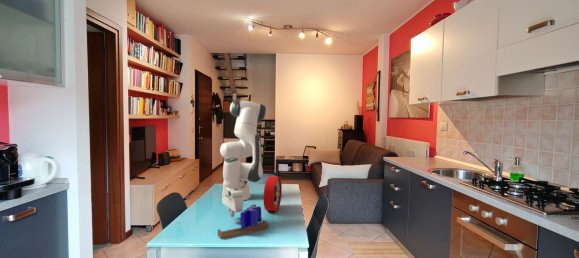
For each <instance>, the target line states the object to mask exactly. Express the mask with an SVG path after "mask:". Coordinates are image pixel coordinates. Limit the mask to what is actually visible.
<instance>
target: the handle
mask: <svg viewBox="0 0 579 258" xmlns="http://www.w3.org/2000/svg"><path fill="white" fill-rule="evenodd" d="M268 229H269V222H268V221H266V220H263V219H262V222H259V223H257V226H247V227H246V228H245V229H241V227H237V228H232V229H227V230H221V229H220V228H219V229H217V237H218V238H219V239H220V240H222V239H227V238H231V237H236V236H241V235H246V234H250V233H255V232H258V231H263V230H268Z"/></svg>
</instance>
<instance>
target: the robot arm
mask: <svg viewBox="0 0 579 258" xmlns="http://www.w3.org/2000/svg"><path fill="white" fill-rule="evenodd" d="M229 111H230V112H229V113H230V114H231V116H233V117H235V118H236V120H235V125H234V128H233V129H234V130H233V133H234V136H235V137H237V138H238V139H239V140H238V141H226V142H224V143H222V144H221V145H220V148H219V152H220V155H221V156H222V158H223V159H225V160H224V161H223V167H222V177H223V182H222V193H221V203H222V205H224V206H225V207H227V209H228V216H229V217H231V218H234V217H235V213H241V212H243V211H244V210H243V209H244V201H247V200H249V199H250V198H251V197H252V195H251V194H250V185H249V184H248V182H250V183H251V182H252V183H258V182H259V181H261V180H262V178H263V176H264V169H263V159H262V157H263V156H262V154H263V153H262V139H261V136H260V134H258V131H257V130H258V129H257V128H258V127H257V126H258V122H259V121H260V122H261V121H263V120H264V119H265V117H266V116H267V108H266V105H265V104H263V103H257V102H254V101H248V100H241V99H234V100H232V102H231V103H230V106H229ZM249 157H252V162H250V163H249V162H241V161H240V160H241V158H249Z"/></svg>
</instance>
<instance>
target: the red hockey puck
mask: <svg viewBox="0 0 579 258" xmlns="http://www.w3.org/2000/svg"><path fill="white" fill-rule="evenodd" d="M282 186H283V185H282V179H281V177H280V176H272V175H271V176H270V175H269V176H267V178H266V179H265V183H264V187H263V197H262V198H263V200H262V201H263V208H264V210H265V211H267V212H268V211H269V212H278V211H279V209H280V206H281V202H282V193H283V192H282V191H283V189H282V188H283V187H282Z"/></svg>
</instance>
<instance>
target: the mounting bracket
mask: <svg viewBox="0 0 579 258" xmlns="http://www.w3.org/2000/svg"><path fill="white" fill-rule="evenodd" d="M239 213H240V228H241V229H245V228H246V227H247V226H257V224H258V223H262V222H263V219H262V206H257V205H256V204H251V205H249V206H248V207H247V208H245V210H242V211H241V212H239Z"/></svg>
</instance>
